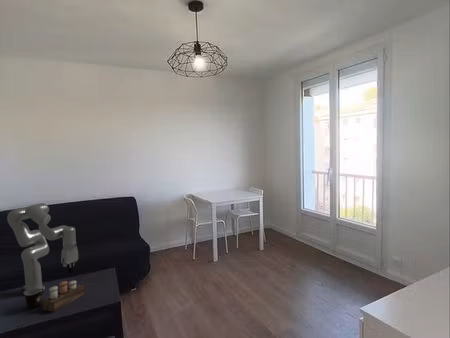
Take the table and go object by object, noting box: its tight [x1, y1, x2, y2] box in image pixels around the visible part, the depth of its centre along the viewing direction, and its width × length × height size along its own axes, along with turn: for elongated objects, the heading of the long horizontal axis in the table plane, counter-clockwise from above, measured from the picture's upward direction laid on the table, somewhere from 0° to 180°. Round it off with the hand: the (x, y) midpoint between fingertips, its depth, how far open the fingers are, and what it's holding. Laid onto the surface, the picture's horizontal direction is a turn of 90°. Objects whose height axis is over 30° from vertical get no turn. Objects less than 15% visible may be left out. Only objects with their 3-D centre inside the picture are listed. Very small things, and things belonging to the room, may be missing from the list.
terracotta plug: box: [58, 280, 68, 295], centre depth 181 cm, size 5×5×8 cm
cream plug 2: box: [67, 280, 77, 290], centre depth 188 cm, size 5×5×8 cm
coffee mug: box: [24, 288, 44, 311], centre depth 177 cm, size 12×9×10 cm
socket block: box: [41, 284, 85, 313], centre depth 181 cm, size 10×22×6 cm, turn 161°
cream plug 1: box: [48, 285, 59, 301], centre depth 174 cm, size 5×5×8 cm
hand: (70, 272), depth 187 cm, fingers closed
